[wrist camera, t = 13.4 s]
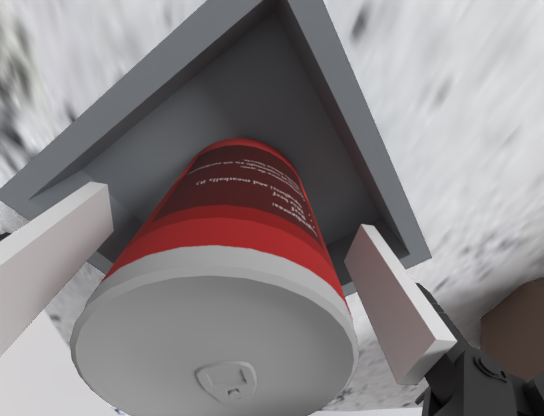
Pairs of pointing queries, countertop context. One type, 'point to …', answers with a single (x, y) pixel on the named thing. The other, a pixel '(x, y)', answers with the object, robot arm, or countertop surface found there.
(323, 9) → the bin
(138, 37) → the countertop surface
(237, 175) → the canned food
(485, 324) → the brown cooking pot
